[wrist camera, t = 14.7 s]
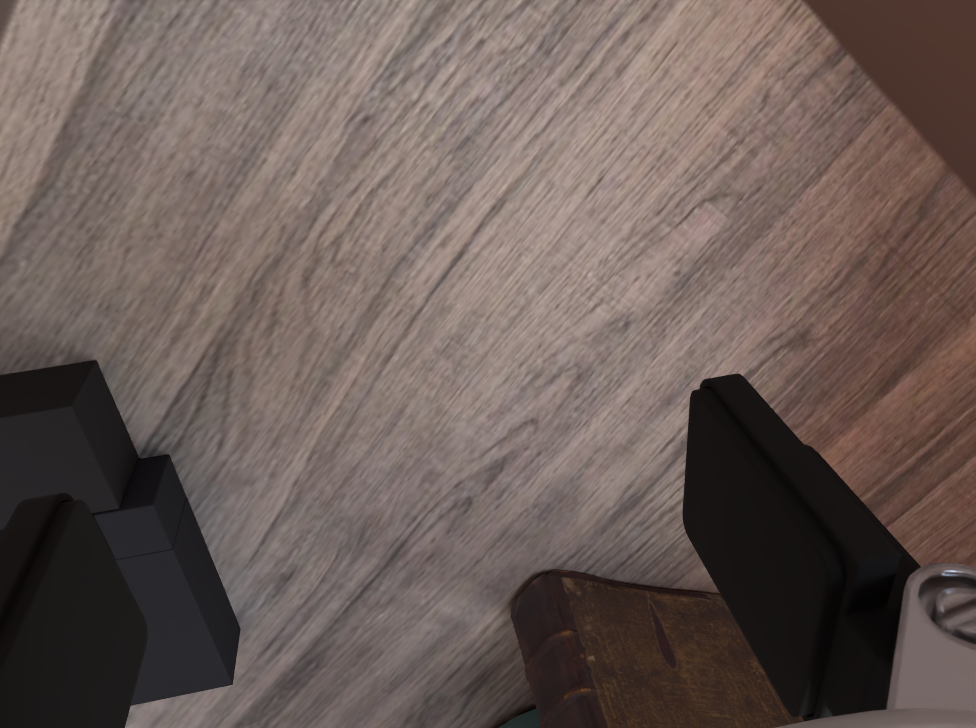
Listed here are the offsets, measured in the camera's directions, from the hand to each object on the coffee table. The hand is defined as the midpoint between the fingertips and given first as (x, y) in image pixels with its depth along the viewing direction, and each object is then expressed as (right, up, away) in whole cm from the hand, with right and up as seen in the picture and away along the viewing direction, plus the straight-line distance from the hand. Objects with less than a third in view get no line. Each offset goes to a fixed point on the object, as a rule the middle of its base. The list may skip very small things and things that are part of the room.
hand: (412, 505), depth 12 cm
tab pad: (-21, -2, +26) cm, 33 cm away
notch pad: (-20, -9, +30) cm, 37 cm away
